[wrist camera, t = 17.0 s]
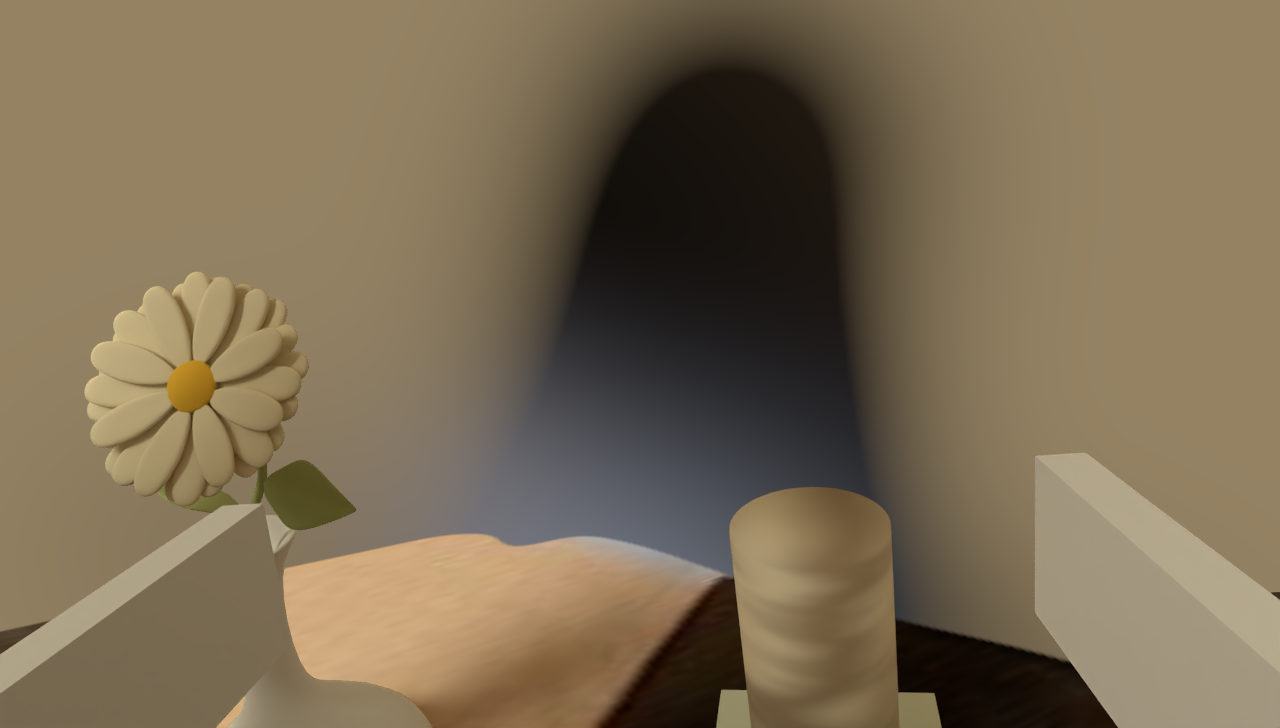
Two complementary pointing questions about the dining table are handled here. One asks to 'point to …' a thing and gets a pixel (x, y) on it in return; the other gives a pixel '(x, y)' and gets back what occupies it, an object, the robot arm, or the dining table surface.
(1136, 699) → the robot arm
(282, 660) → the flower in vase
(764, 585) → the birch canister
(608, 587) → the dining table surface
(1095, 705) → the dining table surface
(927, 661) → the dining table surface
